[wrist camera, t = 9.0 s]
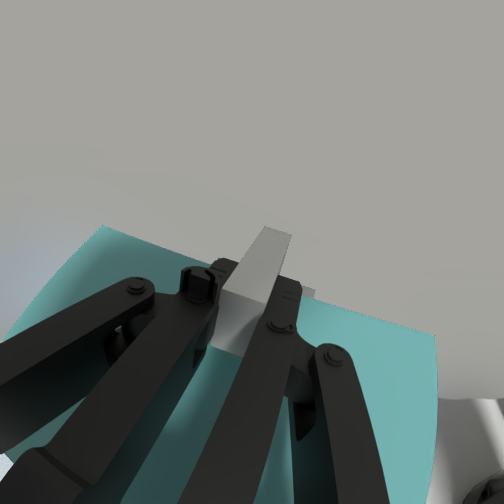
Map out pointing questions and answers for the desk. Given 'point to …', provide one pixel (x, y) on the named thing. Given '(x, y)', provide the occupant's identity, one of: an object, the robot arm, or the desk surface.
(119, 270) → the lid
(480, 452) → the desk surface
